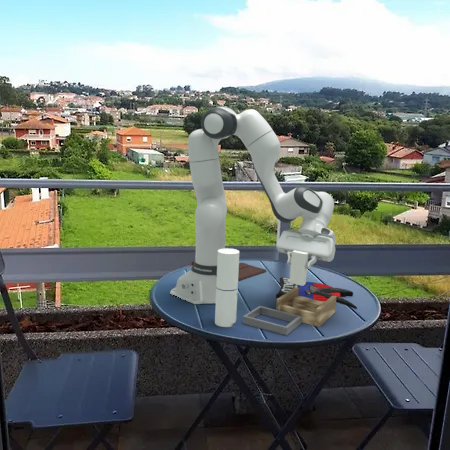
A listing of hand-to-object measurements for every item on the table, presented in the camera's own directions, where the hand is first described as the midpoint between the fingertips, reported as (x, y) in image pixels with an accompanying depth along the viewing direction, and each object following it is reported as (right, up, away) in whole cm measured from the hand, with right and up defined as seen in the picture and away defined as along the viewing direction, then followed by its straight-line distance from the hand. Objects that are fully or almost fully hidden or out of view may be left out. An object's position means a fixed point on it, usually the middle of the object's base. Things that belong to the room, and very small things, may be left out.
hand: (298, 265), depth 163 cm
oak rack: (+4, -19, +9) cm, 21 cm away
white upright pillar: (0, -6, +2) cm, 6 cm away
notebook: (-18, -9, +57) cm, 61 cm away
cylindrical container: (-25, -19, 0) cm, 31 cm away
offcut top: (+5, -14, +10) cm, 18 cm away
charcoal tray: (-9, -20, -1) cm, 22 cm away
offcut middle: (+5, -16, +10) cm, 19 cm away
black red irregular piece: (+11, -15, +30) cm, 36 cm away
